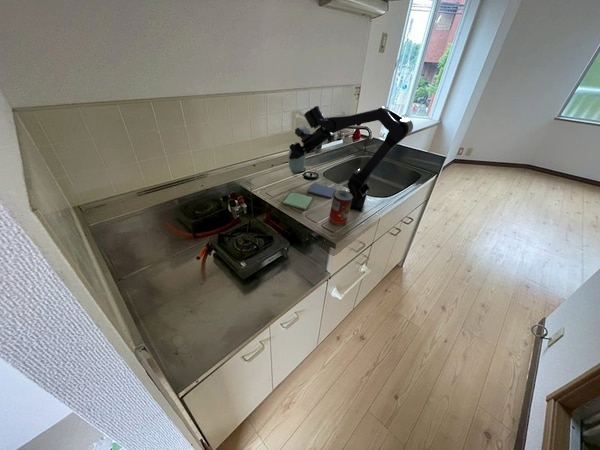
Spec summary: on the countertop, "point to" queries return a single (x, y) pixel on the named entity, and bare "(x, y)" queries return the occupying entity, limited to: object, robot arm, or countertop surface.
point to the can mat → (322, 190)
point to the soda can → (340, 207)
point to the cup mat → (297, 200)
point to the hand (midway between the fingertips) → (294, 156)
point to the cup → (297, 163)
